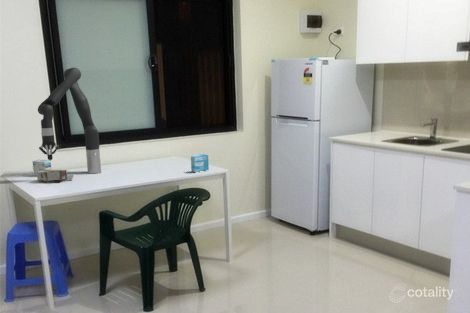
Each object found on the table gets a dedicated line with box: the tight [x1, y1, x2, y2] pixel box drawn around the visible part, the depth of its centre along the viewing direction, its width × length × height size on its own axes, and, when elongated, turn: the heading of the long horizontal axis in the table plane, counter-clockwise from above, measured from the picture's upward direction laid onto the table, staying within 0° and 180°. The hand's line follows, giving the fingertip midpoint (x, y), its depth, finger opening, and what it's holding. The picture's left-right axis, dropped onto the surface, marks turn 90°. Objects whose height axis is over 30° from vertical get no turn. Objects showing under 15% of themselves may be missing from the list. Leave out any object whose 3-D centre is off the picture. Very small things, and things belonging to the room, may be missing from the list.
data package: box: [190, 153, 210, 173], centre depth 312 cm, size 12×4×12 cm, turn 126°
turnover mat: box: [45, 174, 74, 184], centre depth 296 cm, size 16×16×1 cm
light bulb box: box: [32, 159, 53, 177], centre depth 309 cm, size 11×7×11 cm, turn 74°
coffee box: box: [36, 169, 68, 183], centre depth 290 cm, size 9×6×16 cm
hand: (50, 160), depth 293 cm, fingers closed
